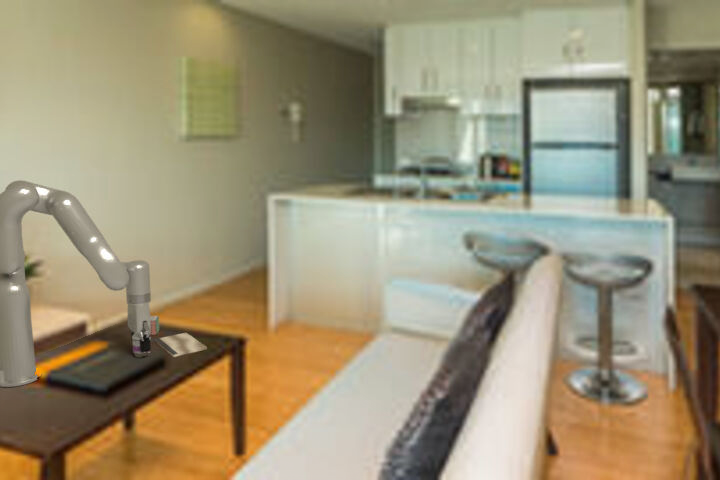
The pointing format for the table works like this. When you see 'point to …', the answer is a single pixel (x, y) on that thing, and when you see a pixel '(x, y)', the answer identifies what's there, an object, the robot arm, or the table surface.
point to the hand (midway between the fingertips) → (141, 347)
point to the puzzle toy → (154, 325)
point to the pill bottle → (137, 343)
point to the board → (180, 344)
